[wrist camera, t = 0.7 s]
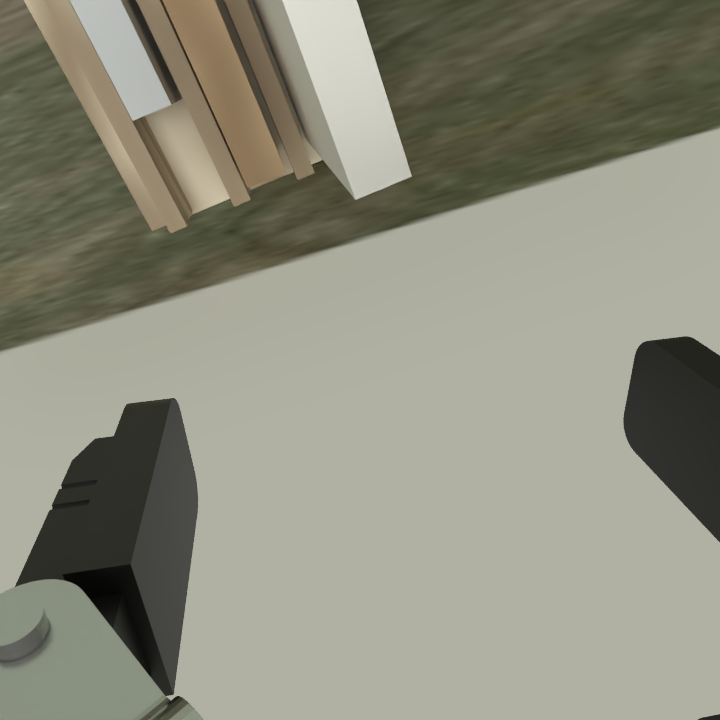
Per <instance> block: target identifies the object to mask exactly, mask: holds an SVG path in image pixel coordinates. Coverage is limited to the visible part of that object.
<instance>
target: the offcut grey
mask: <svg viewBox="0 0 720 720" xmlns="http://www.w3.org/2000/svg"><path fill="white" fill-rule="evenodd" d="M70 2H71V4H72V6H73V8H74V10H75V12H76V14H77V15H78V17H79V19H80V21H81V23H82V25H83V27H84V29H85V31H86V33H87V35H88V37H89V38H90V40H91V42H92V44H93V46H94V48H95V50H96V52H97V54H98V56H99V58H100V60H101V61H102V63H103V65H104V67H105V69H106V71H107V73H108V75H109V77H110V79H111V81H112V82H113V84H114V86H115V88H116V90H117V92H118V94H119V96H120V98H121V100H122V102H123V104H124V105H125V107H126V109H127V111H128V113H129V115H130V117H131V119H132V121H134V120H136V119H138V118H141V117H143V116H146V115H148V114H150V113H153V112H155V111H157V110H160V109H162V108H165V107H167V106H169V105H172V104H173V103H175V102H177V101H179V100H181V99H182V96H181V94H180V92H179V89H178V87H177V85H176V83H175V81H174V79H173V77H172V75H171V73H170V70H169V68H168V66H167V64H166V62H165V60H164V58H163V56H162V54H161V51H160V49H159V47H158V45H157V43H156V41H155V39H154V37H153V35H152V32H151V30H150V28H149V26H148V24H147V22H146V20H145V18H144V16H143V13H142V11H141V9H140V7H139V5H138V3H137V1H136V0H70Z"/></svg>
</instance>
